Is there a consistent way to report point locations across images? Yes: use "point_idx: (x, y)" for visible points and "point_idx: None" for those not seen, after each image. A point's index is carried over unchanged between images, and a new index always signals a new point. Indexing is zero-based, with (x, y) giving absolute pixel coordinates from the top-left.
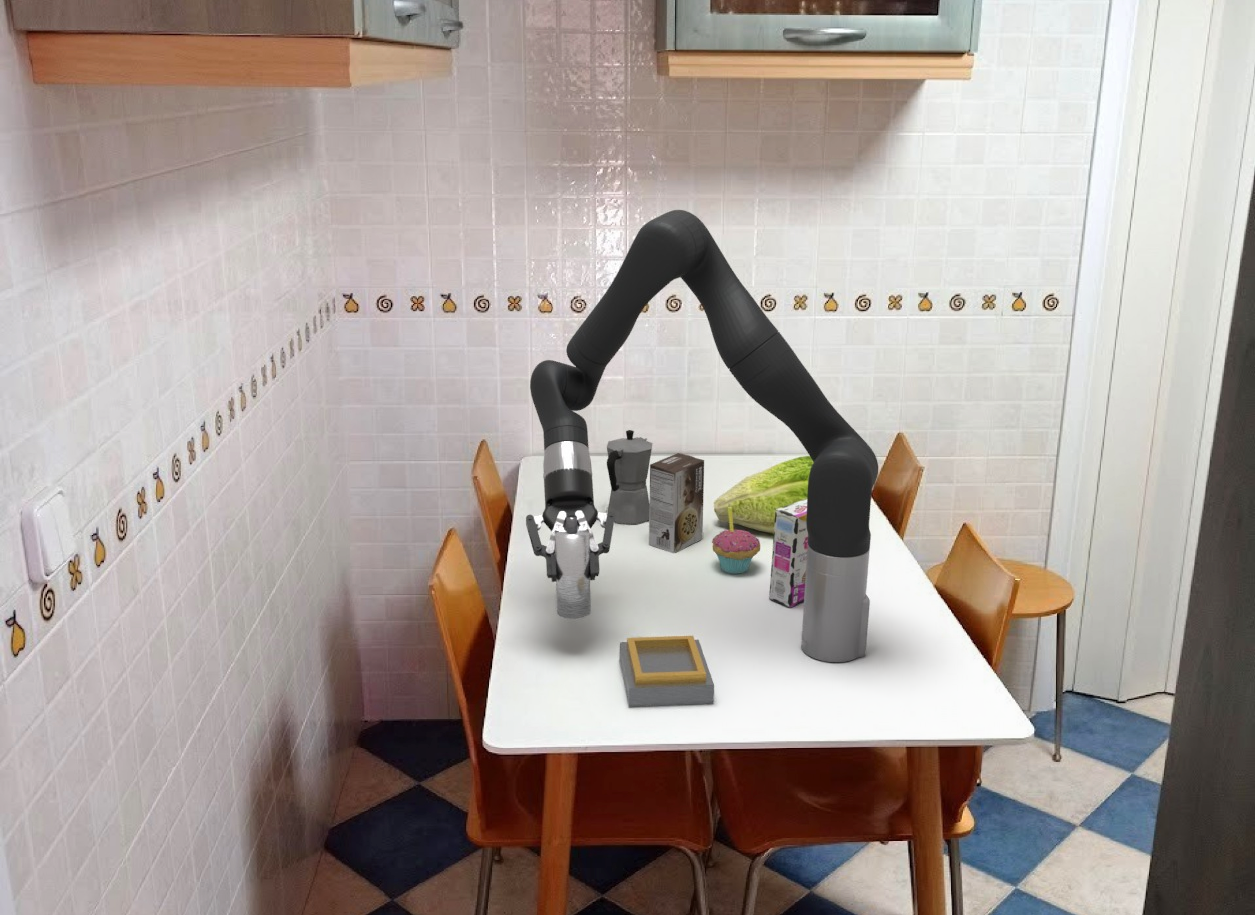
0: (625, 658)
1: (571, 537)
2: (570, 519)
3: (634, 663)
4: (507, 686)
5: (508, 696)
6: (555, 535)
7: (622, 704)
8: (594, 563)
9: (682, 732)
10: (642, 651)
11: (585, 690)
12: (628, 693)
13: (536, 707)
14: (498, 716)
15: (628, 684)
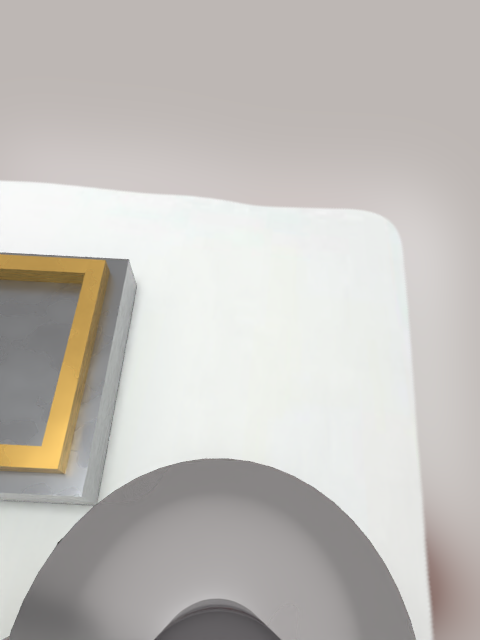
0: (95, 393)
1: (238, 492)
2: (246, 621)
3: (87, 317)
4: (396, 401)
5: (388, 358)
6: (403, 616)
7: (147, 298)
8: None
9: (65, 202)
10: (34, 426)
11: (215, 361)
12: (130, 282)
13: (325, 309)
14: (400, 288)
15: (126, 273)
